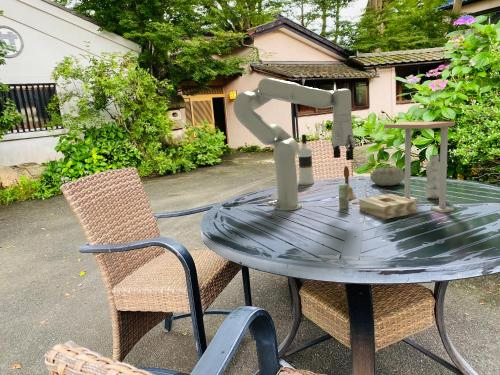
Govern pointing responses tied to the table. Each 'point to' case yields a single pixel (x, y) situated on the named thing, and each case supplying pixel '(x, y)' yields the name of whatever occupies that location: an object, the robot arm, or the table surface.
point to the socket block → (388, 206)
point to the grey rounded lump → (387, 176)
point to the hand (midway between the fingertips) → (343, 158)
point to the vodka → (305, 163)
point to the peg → (343, 197)
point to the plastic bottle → (433, 177)
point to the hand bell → (350, 192)
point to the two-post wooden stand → (443, 158)
